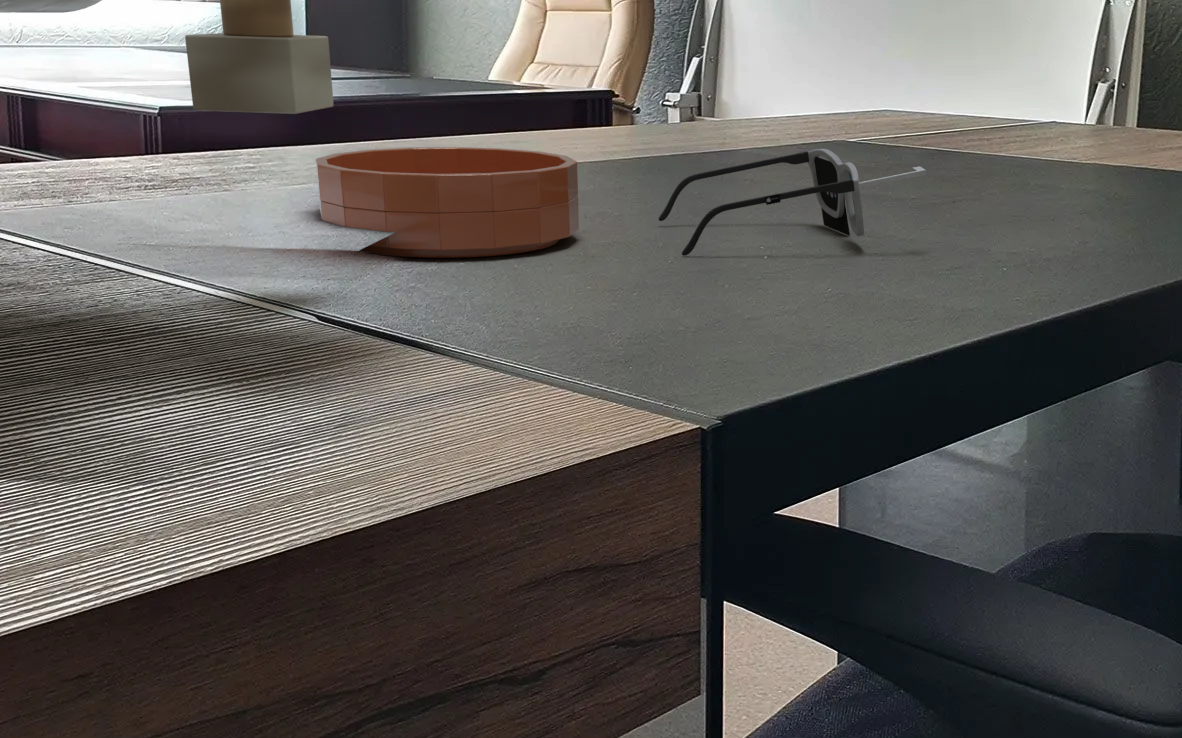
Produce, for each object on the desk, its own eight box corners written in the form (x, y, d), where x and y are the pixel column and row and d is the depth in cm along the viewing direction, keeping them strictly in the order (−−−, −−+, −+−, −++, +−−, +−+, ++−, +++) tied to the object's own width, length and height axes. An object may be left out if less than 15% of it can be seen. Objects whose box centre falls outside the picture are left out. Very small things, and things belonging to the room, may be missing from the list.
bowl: (283, 256, 74) (274, 169, 72) (372, 217, 87) (366, 144, 86) (548, 265, 73) (545, 178, 72) (597, 225, 87) (595, 151, 85)
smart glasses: (937, 246, 79) (927, 159, 77) (691, 298, 77) (674, 209, 75) (882, 210, 90) (871, 132, 88) (664, 255, 88) (649, 176, 86)
